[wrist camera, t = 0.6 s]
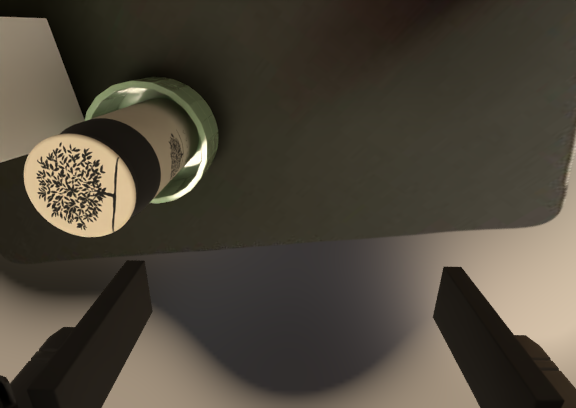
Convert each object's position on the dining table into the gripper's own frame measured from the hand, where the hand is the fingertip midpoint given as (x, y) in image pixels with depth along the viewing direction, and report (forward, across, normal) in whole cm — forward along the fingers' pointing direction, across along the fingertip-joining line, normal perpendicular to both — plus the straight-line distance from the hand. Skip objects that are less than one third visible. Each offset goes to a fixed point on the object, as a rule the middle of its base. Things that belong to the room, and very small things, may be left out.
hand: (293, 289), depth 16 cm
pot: (+28, -14, +1) cm, 32 cm away
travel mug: (+28, -14, +1) cm, 31 cm away
